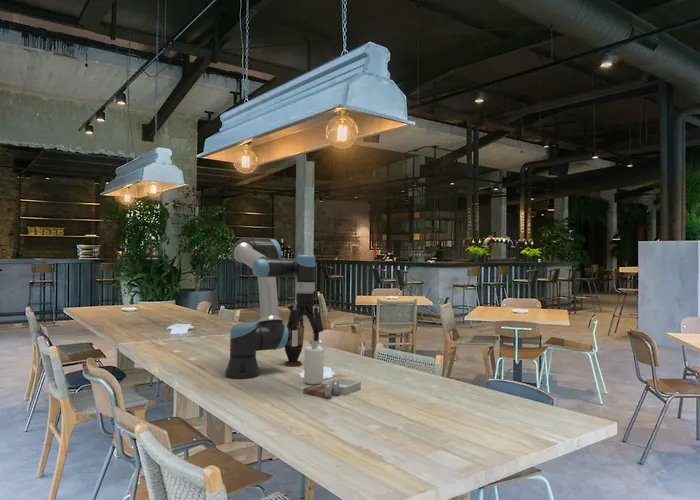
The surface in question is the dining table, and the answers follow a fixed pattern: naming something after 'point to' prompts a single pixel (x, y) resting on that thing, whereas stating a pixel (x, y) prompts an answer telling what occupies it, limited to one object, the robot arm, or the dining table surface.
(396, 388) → the dining table surface
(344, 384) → the tray
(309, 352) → the potion bottle
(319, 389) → the tan wooden board
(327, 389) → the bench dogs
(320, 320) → the robot arm
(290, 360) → the vase
